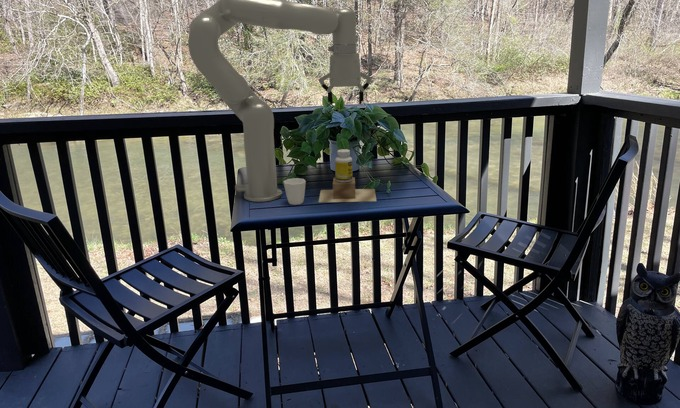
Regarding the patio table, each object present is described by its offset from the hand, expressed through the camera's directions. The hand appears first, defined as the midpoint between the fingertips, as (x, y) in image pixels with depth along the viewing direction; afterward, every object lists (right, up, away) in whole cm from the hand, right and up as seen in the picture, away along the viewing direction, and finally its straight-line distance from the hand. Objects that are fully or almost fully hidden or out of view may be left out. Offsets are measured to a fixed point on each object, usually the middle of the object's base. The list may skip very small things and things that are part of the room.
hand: (345, 103), depth 174 cm
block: (0, -30, -4) cm, 31 cm away
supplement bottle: (-1, -26, -6) cm, 27 cm away
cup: (-16, -33, -8) cm, 38 cm away
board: (+1, -31, -4) cm, 32 cm away
